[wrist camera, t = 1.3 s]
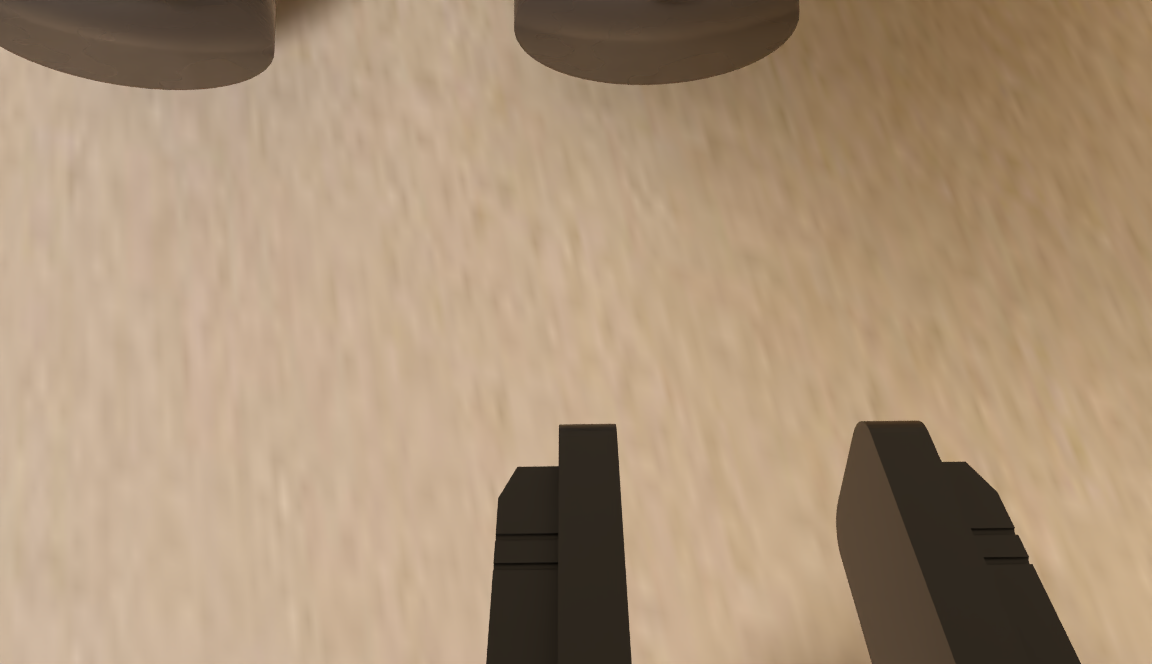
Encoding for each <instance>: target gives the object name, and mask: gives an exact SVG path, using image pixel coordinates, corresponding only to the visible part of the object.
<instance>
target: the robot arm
mask: <svg viewBox="0 0 1152 664" xmlns="http://www.w3.org/2000/svg"><path fill="white" fill-rule="evenodd" d="M836 527H837V539H838V546H839V551H840V555H841V558H842V562H843V565H844V569H845V572H846V575H847V579H848V582H849V586H850V589H851V593H852V596H853V600H854V603H855V606H856V610H857V613H858V617H859V620H860V624H861V627H862V631H863V634H864V637H865V641H866V644H867V648H868V651H869V655H870V658H871V662H872V664H1081V663H1080V661H1079V659H1078V657H1077V655H1076V653H1075V650H1074V648H1073V646H1072V644H1071V642H1070V640H1069V638H1068V636H1067V634H1066V632H1065V630H1064V628H1063V626H1062V624H1061V622H1060V620H1059V618H1058V616H1057V614H1056V612H1055V609H1054V607H1053V605H1052V603H1051V601H1050V599H1049V597H1048V595H1047V593H1046V591H1045V589H1044V587H1043V585H1042V583H1041V581H1040V579H1039V577H1038V575H1037V573H1036V570H1035V568H1034V566H1033V564H1029V561H1028V558H1029V556H1028V554H1027V552H1026V550H1025V548H1024V546H1023V544H1022V542H1021V540H1020V538H1019V536H1018V535H1015V532H1014V528H1015V527H1014V525H1013V523H1012V521H1011V519H1010V517H1009V515H1008V513H1007V511H1006V509H1005V507H1004V505H1003V503H1002V501H1001V499H1000V497H999V495H998V493H997V492H996V491H995V490H994V489H993V488H992V487H991V486H990V485H989V484H988V483H987V482H986V481H985V480H984V479H983V478H982V477H981V476H980V475H979V474H978V473H977V472H976V471H975V470H974V469H973V468H972V467H971V466H969V465H968V464H967V463H966V462H941V460H940V457H939V455H938V453H937V451H936V448H935V446H934V444H933V441H932V439H931V437H930V435H929V432H928V430H927V428H926V427H925V425H924V424H923V423H922V422H920V421H861V422H859V423H858V424H857V425H856V427H855V430H854V433H853V437H852V442H851V446H850V451H849V455H848V460H847V464H846V469H845V473H844V478H843V482H842V486H841V491H840V495H839V500H838V505H837V515H836ZM486 664H632V663H631V647H630V632H629V616H628V600H627V585H626V569H625V553H624V538H623V522H622V506H621V491H620V475H619V459H618V444H617V429H616V424H572V425H559V466H547V467H517V469H516V470H515V472H514V473H513V475H512V477H511V478H510V480H509V482H508V483H507V485H506V487H505V488H504V490H503V491H502V493H501V495H500V496H499V498H498V510H497V524H496V541H495V551H494V570H493V579H492V593H491V606H490V620H489V634H488V647H487V661H486Z"/></svg>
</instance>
